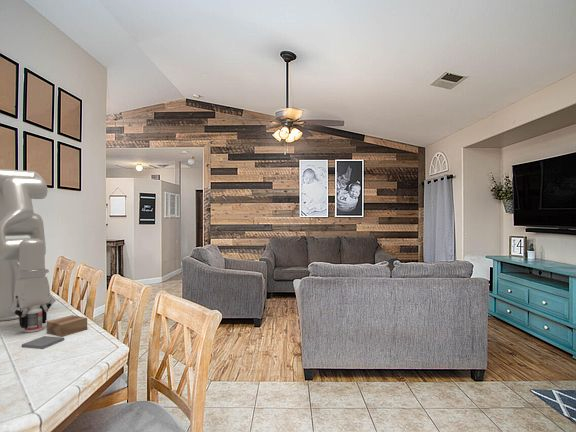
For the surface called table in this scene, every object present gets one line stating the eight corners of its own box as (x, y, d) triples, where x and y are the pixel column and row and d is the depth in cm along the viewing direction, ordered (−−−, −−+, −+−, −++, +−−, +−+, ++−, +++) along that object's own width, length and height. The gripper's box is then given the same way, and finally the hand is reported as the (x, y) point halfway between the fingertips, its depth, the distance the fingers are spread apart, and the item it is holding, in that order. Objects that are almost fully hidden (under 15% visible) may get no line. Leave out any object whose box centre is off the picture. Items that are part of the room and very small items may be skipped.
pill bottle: (42, 330, 131) (42, 303, 130) (24, 333, 128) (23, 305, 128) (42, 327, 135) (42, 300, 135) (24, 329, 132) (24, 302, 132)
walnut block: (46, 332, 128) (46, 321, 128) (72, 325, 136) (72, 315, 136) (61, 336, 124) (61, 324, 124) (87, 329, 132) (87, 317, 132)
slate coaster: (21, 346, 114) (21, 344, 114) (44, 338, 122) (44, 336, 122) (42, 348, 112) (42, 346, 112) (64, 340, 120) (64, 337, 120)
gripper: (51, 270, 141) (52, 317, 141) (-1, 277, 126) (0, 330, 126) (63, 271, 137) (63, 320, 137) (10, 279, 122) (11, 333, 122)
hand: (33, 324), depth 131 cm, fingers closed on pill bottle, 5 cm apart
